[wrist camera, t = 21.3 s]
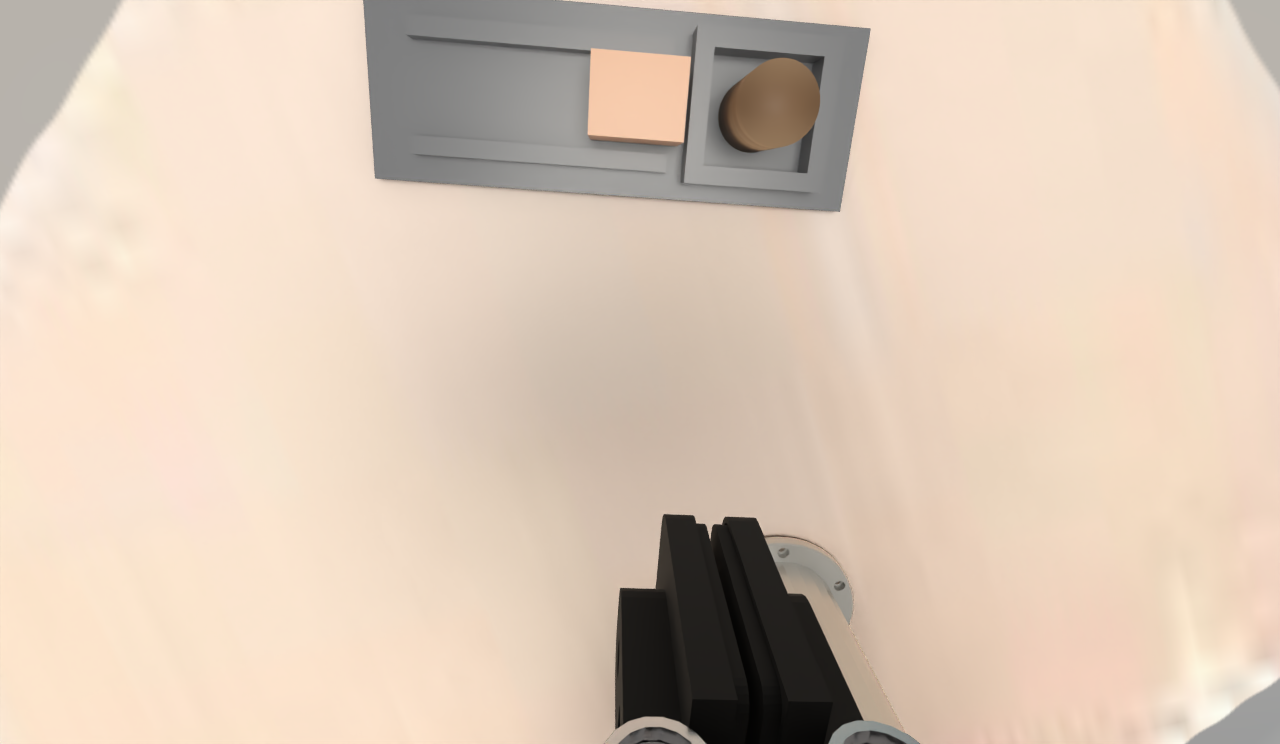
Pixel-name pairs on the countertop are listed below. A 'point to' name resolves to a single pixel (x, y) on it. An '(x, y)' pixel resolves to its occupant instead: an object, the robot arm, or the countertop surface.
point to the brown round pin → (770, 106)
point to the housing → (559, 100)
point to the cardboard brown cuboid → (638, 97)
